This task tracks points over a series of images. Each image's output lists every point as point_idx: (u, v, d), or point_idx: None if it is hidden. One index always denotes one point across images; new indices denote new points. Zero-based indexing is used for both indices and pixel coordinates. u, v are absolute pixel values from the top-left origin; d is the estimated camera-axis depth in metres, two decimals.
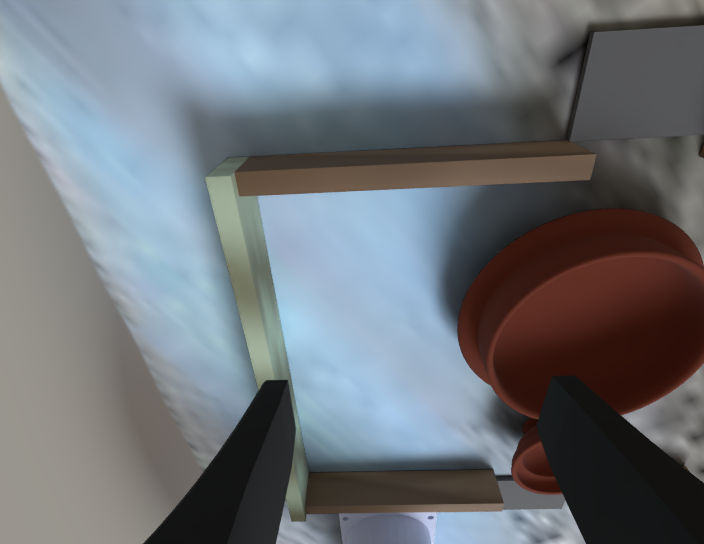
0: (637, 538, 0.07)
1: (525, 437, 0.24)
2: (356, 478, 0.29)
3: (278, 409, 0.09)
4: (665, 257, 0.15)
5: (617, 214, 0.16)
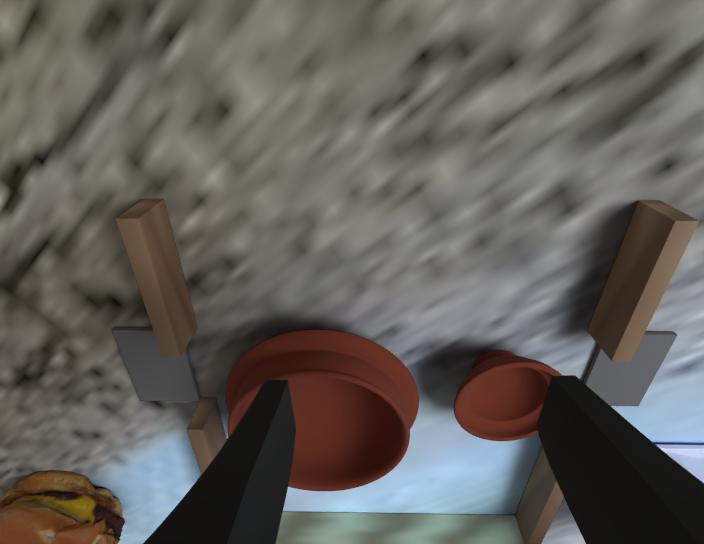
0: (637, 538, 0.07)
1: None
2: (527, 497, 0.30)
3: (278, 409, 0.09)
4: (230, 424, 0.21)
5: (227, 404, 0.23)
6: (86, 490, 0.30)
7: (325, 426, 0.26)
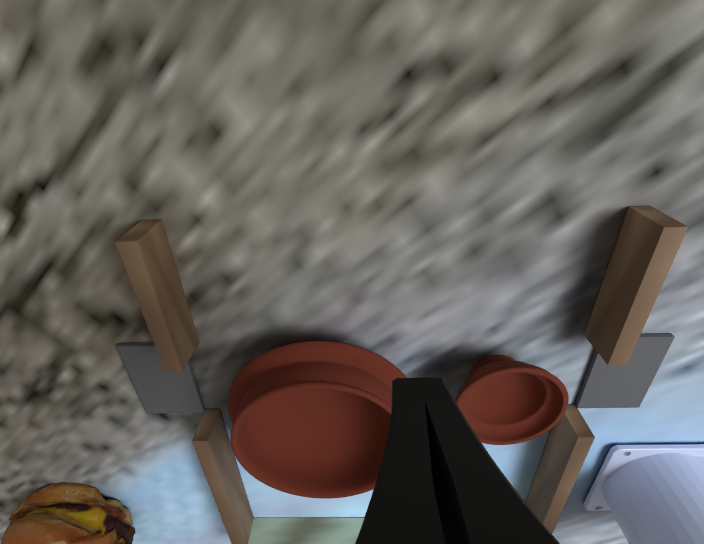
0: (451, 538, 0.07)
1: None
2: (531, 499, 0.30)
3: (425, 407, 0.09)
4: (233, 435, 0.21)
5: (230, 415, 0.24)
6: (97, 501, 0.31)
7: (328, 434, 0.26)
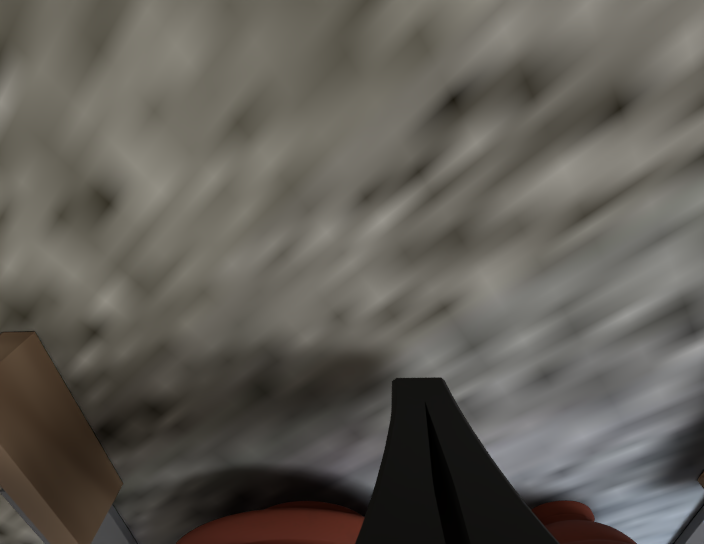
0: (451, 538, 0.07)
1: None
2: None
3: (425, 407, 0.09)
4: None
5: None
6: None
7: None
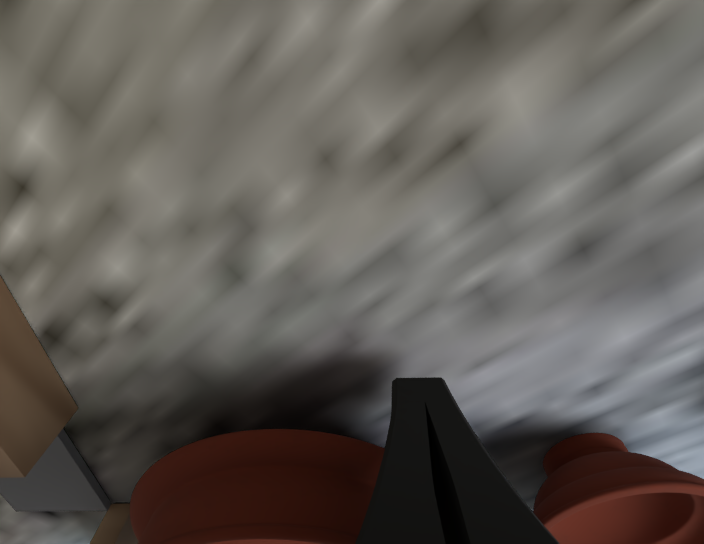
0: (451, 538, 0.07)
1: None
2: None
3: (425, 407, 0.09)
4: None
5: (138, 539, 0.14)
6: None
7: None
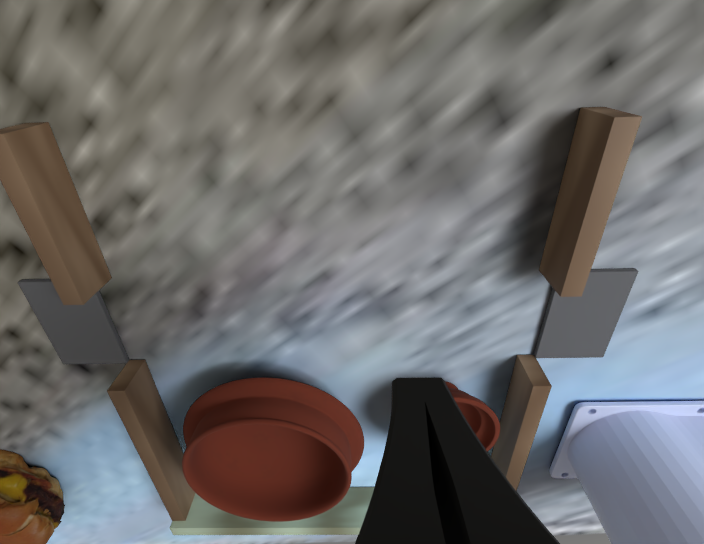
0: (451, 538, 0.07)
1: None
2: None
3: (425, 407, 0.09)
4: (185, 468, 0.23)
5: (187, 446, 0.25)
6: (18, 468, 0.28)
7: (284, 459, 0.27)
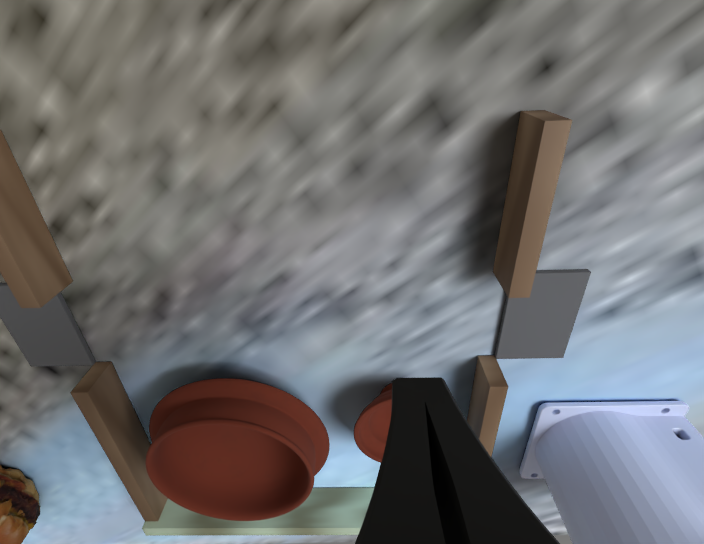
0: (451, 538, 0.07)
1: (386, 440, 0.25)
2: None
3: (425, 407, 0.09)
4: (148, 468, 0.23)
5: None
6: None
7: (254, 459, 0.28)
